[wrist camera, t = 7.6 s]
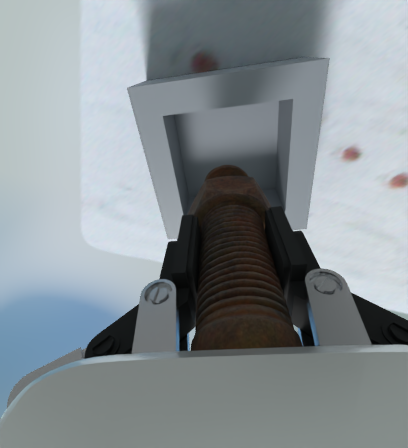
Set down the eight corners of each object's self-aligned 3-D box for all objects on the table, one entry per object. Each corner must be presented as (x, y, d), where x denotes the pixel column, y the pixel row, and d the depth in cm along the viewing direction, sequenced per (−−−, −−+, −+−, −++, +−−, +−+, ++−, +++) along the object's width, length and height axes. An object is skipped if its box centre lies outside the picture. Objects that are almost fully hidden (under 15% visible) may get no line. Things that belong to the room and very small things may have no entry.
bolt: (213, 128, 15) (220, 442, 3) (280, 163, 16) (487, 493, 4) (178, 201, 18) (108, 504, 6) (236, 226, 19) (279, 523, 7)
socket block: (303, 57, 19) (329, 58, 15) (291, 199, 27) (306, 228, 22) (146, 80, 21) (127, 88, 16) (175, 209, 28) (167, 239, 24)
